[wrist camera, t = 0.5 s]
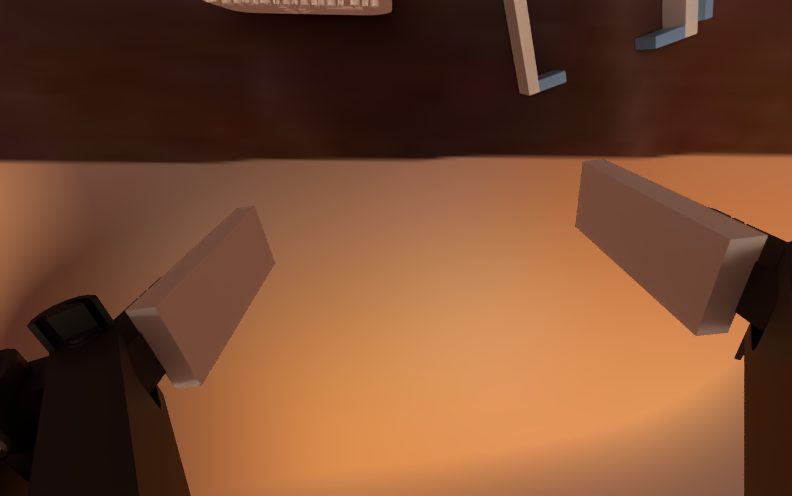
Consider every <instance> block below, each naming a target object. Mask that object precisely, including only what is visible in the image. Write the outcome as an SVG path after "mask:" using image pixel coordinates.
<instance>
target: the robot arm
mask: <svg viewBox="0 0 792 496" xmlns="http://www.w3.org/2000/svg"><path fill="white" fill-rule="evenodd" d="M575 226H576V227H577V228H578V229H579V230H580V231H581V232H582V233H583V234H584V235H585V236H587V237H588V238H589V239H590V240H591V241H592V242H593V243H594V244H595V245H597V246H598V247H599V248H600V249H601V250H602V251H603V252H604V253H605V254H606V255H607V256H609V257H610V258H611V259H612V260H613V261H614V262H615V263H616V264H617V265H618V266H620V267H621V268H622V269H623V270H624V271H625V272H626V273H627V274H628V275H629V276H631V277H632V278H633V279H634V280H635V281H636V282H637V283H638V284H639V285H641V286H642V287H643V288H644V289H645V290H646V291H647V292H648V293H650V294H651V295H652V296H653V297H654V298H655V299H656V300H657V301H658V302H659V303H660V304H661V305H663V306H664V307H665V308H666V309H667V310H668V311H669V312H670V313H672V315H674V316H675V317H676V318H677V319H678V320H679V321H680V322H681V323H682V324H684V325H685V326H686V327H687V328H688V329H689V330H690V331H691V332H692V333H693V334H694V335H696V336H699V335H709V334H719V333H727V332H728V331H729V328H730V326H731V324H732V321H733V319H734V316H735V314H736V313H737V314H739V315H740V316H742V317H743V318H744V319H746V320H747V321H748V322H750V325H749V327H748V329H747V331H746V333H745V335H744V338H743V340H742V342H741V344H740V347H739V349H738V351H737V353H736V356H735V359H738V360H741V358H742V357H743V355H744V357H745V358H744V364H745V365H744V367H745V369H744V370H745V372H744V382H745V383H744V392H745V393H744V396H745V397H744V401H745V402H744V410H745V411H744V415H745V416H744V431H745V432H744V433H745V435H744V441H745V442H744V446H745V447H744V456H745V457H744V496H792V241H791V242H786V241H784V240H781V239H779V238H777V237H775V236H773V235H770V234H768V233H766V232H764V231H762V230H759V229H757V228H755V227H753V226H751V225H748V224H746V225H745V224H744V222H742V221H740V220H738V219H735V218H731V216H729V215H727V214H725V213H722V212H720V211H718V210H716V209H713V208H709V207H706V206H704V205H702V204H699V203H697V202H695V201H693V200H691V199H689V198H687V197H684V196H682V195H680V194H678V193H676V192H674V191H672V190H669V189H667V188H665V187H663V186H661V185H658V184H656V183H654V182H652V181H650V180H648V179H645V178H643V177H641V176H639V175H637V174H635V173H633V172H630V171H628V170H626V169H624V168H622V167H619V166H617V165H615V164H613V163H611V162H609V161H607V160H604V159H600V160H592V161H585V162H583V165H582V174H581V183H580V190H579V199H578V207H577V216H576V224H575ZM274 264H275V262H274V259H273V256H272V253H271V250H270V248H269V245H268V242H267V239H266V236H265V233H264V231H263V228H262V225H261V222H260V220H259V217H258V214H257V211H256V208H255V206H251V207H243V208H237V209H235V210H234V211H233V212H232V213H231V214H230V215H229V216H228V217H227V218H226V219H225V220H223V221H222V222H221V223H220V224H219V225H218V226H217V227H216V228H215V229H214V230H213V231H211V232H210V233H209V234H208V235H207V236H206V237H205V238H204V239H203V240H202V241H201V242H199V243H198V244H197V245H196V246H195V247H194V248H193V249H192V250H191V251H190V252H189V253H187V254H186V255H185V256H184V257H183V258H182V259H181V260H180V261H179V262H178V263H177V264H176V265H174V266H173V267H172V268H171V269H170V270H169V271H168V272H167V273H166V274H165V275H163V276H162V277H161V278H159V279H158V280H157V281H156V282H155V283H154V284H153V285H152V286H150V287H149V288H148V290H146V291H145V292H144V293H143V294H142V295H141V296H140V297H139V298H137V299H136V300H135V301H134V302H133V303H132V304H131V305H130V306H128V307H127V308H126V309H125V310H124V311H123V312H122V313H121V314H120V315H119V316H117V317H116V318H115V319H114V320H113V319H112V318H111V316H110V315H109V314H108V312H107V310H106V309H105V308H104V306H103V305H102V303H101V302H100V300H99V299H98V297H97V296H96V295H85V296H78V297H75V298H72V299H69V300H66V301H63V302H61V303H59V304H57V305H54V306H52V307H50V308H49V309H47V310H45V311H43V312H42V313H40V314H39V315H37V316H36V317H35V318H34V319H32V320H31V321H30V323H29V324H28V326H27V327H28V328H29V329H30V331H31V332H32V333H33V334H34V335H35V336H36V338H37V339H38V340H39V341H40V342H41V343H42V345H43V346H44V347H45V348H46V350H47V351H48V352H49V353H50V354H49V356H47V357H44V358H40V359H37V360H33V361H30V362H27V361H26V360H25V359H24V358H23V357H22V356H21V354H20V353H19V352H18V351H17V350H16V349H4V350H0V447H1V448H2V449H1V450H0V496H191V495H190V492H189V488H188V484H187V481H186V477H185V473H184V469H183V466H182V462H181V458H180V455H179V451H178V447H177V444H176V440H175V436H174V432H173V429H172V425H171V422H170V418H169V414H168V410H167V407H166V403H165V399H164V395H163V393H162V392H161V390H160V389H159V387H158V386H157V384H158V382H159V381H160V380H161V378H162V377H163V376H164V374H165V373H166V375H167V376H168V378H169V380H170V381H171V383H172V384H173V386H174V387H175V388H184V387H194V386H201V385H202V384H203V382H204V381H205V378H206V377H207V376H208V374H209V372H210V371H211V369H212V367H213V366H214V364H215V362H216V361H217V359H218V357H219V356H220V354H221V352H222V351H223V349H224V347H225V346H226V344H227V342H228V341H229V339H230V337H231V335H232V334H233V332H234V331H235V329H236V327H237V326H238V324H239V322H240V321H241V319H242V317H243V315H244V314H245V312H246V311H247V309H248V307H249V306H250V304H251V302H252V301H253V299H254V297H255V296H256V294H257V292H258V291H259V289H260V287H261V286H262V284H263V282H264V281H265V279H266V277H267V276H268V274H269V272H270V271H271V269H272V267H273V266H274Z"/></svg>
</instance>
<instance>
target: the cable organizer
mask: <svg viewBox="0 0 792 496" xmlns="http://www.w3.org/2000/svg"><path fill="white" fill-rule="evenodd" d="M203 1H206V2H209V3H212V4H215V5H218V6H221V7H224V8H227V9H230V10H234V11H239V12H248V13H281V14H330V15H381V14H386V13H389V12H391V11H392V0H203Z"/></svg>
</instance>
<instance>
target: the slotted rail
mask: <svg viewBox="0 0 792 496" xmlns="http://www.w3.org/2000/svg"><path fill="white" fill-rule="evenodd" d="M503 1H504V7H505V13H506V18H507V24H508V30H509V35H510V41H511V47H512V52H513V58H514V63H515V69H516V75H517V80H518V86H519V92H520V93H521V94H525V95H529V96H530V95H532V94H535V93H538V92H540V91H543V90H546V89H549V88H551V87H554V86H557V85H559V84H562V83H565V82H566V73H565V71H558V70H552V71H549V72H547V73H544V74H541V75H539V76H538V75H537V68H536V62H535V55H534V49H533V42H532V36H531V29H530V22H529V16H528V9H527V3H526V0H503ZM712 14H713V0H662V29H660V30H657V31H655V32H652V33H649V34H647V35H644V36H642V37H639V38H636V39H635V47H636V50H643V49H656V48H659V47H662V46H664V45H667V44H670V43H672V42H675V41H678V40H681V39H683V38H686V37H689V36H691V35H694V34H697V24H698V21H700V20H706V19H708V18H711V17H712Z"/></svg>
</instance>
